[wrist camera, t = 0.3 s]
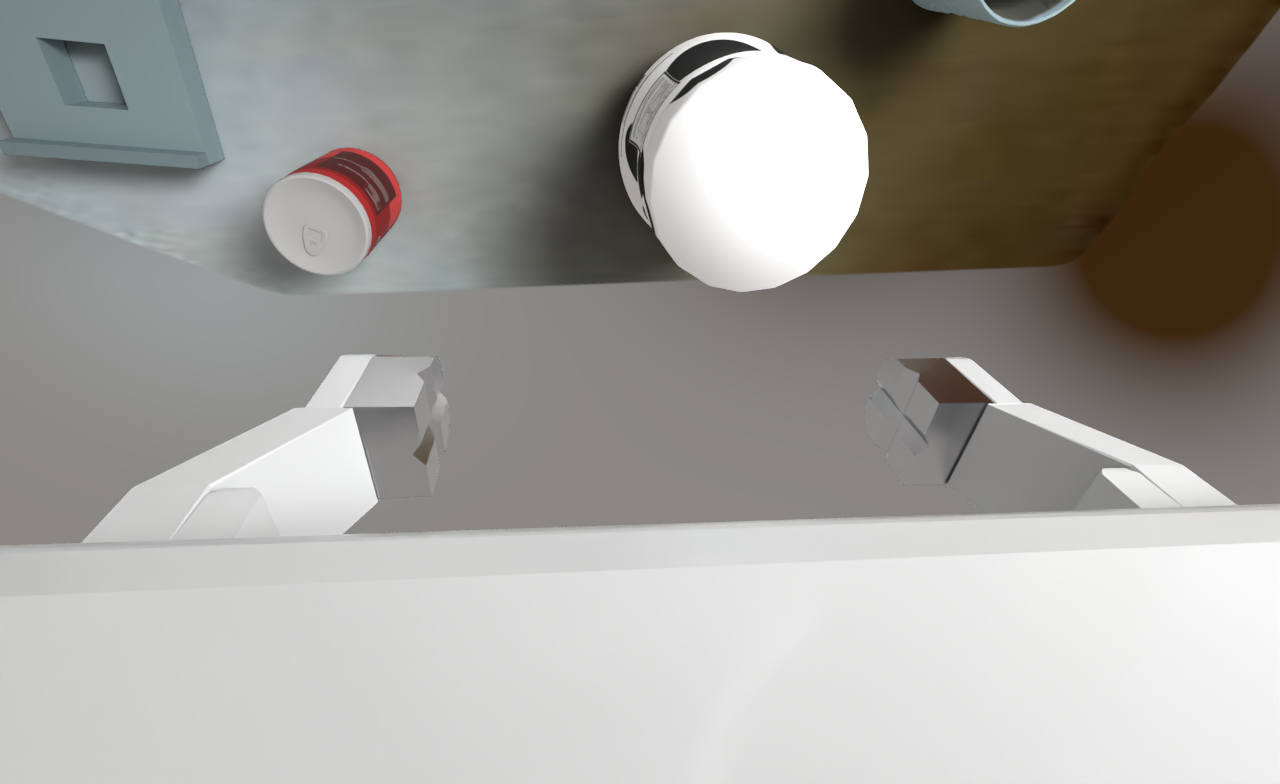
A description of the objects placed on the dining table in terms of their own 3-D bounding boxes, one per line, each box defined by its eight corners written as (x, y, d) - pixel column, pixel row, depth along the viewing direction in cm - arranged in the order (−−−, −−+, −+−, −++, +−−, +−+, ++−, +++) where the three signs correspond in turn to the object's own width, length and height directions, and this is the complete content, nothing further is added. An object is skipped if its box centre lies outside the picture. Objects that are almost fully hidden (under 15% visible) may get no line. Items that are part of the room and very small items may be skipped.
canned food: (322, 227, 53) (270, 270, 44) (310, 138, 49) (250, 165, 40) (406, 238, 54) (373, 282, 45) (401, 152, 50) (364, 182, 41)
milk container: (795, 214, 57) (874, 283, 42) (631, 245, 57) (652, 324, 42) (797, 14, 47) (901, 12, 32) (598, 51, 47) (611, 66, 32)
